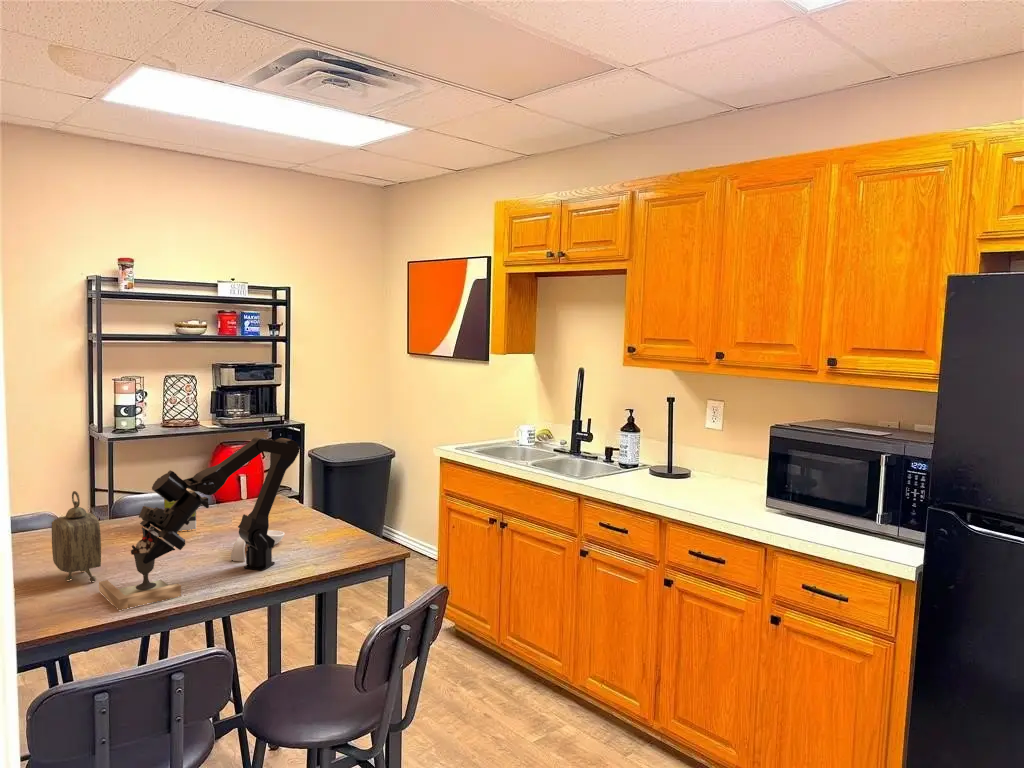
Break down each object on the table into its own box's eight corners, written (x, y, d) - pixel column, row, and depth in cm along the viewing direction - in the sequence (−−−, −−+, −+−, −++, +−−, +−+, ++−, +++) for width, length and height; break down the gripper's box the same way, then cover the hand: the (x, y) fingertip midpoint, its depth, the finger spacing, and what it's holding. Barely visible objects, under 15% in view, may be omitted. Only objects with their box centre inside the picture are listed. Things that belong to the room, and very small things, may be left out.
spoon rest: (257, 538, 244) (257, 518, 244) (290, 541, 243) (290, 520, 242) (219, 561, 221) (219, 538, 220) (255, 563, 219) (255, 540, 219)
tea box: (165, 522, 261) (164, 482, 259) (195, 520, 265) (194, 480, 264) (164, 534, 247) (163, 491, 246) (196, 531, 251) (196, 489, 250)
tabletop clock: (102, 582, 201) (99, 494, 198) (64, 590, 194) (61, 499, 192) (88, 569, 211) (85, 485, 209) (52, 576, 205) (49, 489, 203)
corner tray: (158, 579, 204) (158, 569, 204) (181, 596, 192) (180, 585, 192) (99, 592, 193) (98, 581, 193) (119, 611, 181) (118, 599, 181)
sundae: (163, 581, 198) (161, 527, 196) (154, 590, 191) (152, 535, 190) (137, 582, 197) (135, 528, 195) (128, 591, 190) (126, 535, 189)
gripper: (146, 488, 201) (104, 535, 195) (171, 501, 188) (126, 551, 181) (177, 511, 207) (137, 557, 201) (202, 524, 194) (161, 574, 187)
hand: (139, 559), depth 192 cm, fingers closed on sundae, 6 cm apart
